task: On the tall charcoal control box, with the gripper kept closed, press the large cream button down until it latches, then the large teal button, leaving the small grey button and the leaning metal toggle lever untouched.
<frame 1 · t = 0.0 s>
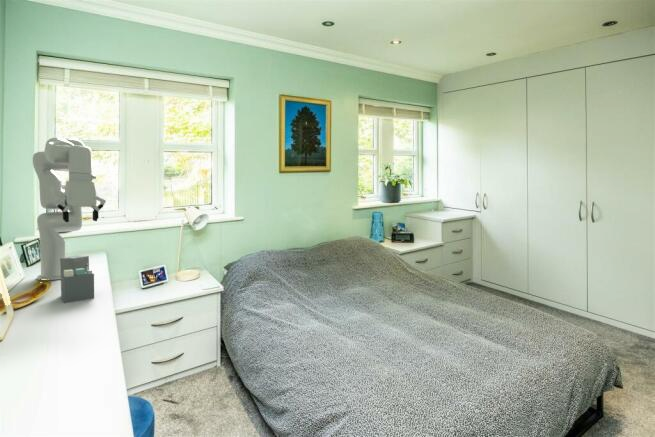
hand: (81, 221, 146), 31 cm above the table, fingers open, 9 cm apart
teal button: (80, 273, 147), point 11 cm above the table, slide at 0.0 cm
skincare box: (75, 294, 154), on the table
cream button: (68, 274, 144), point 11 cm above the table, slide at 0.0 cm
metal lever: (87, 268, 150), point 12 cm above the table, hinge at -18.6°, touching panel
grey button: (89, 272, 148), point 11 cm above the table, slide at 0.0 cm
panel: (78, 299, 147), on the table
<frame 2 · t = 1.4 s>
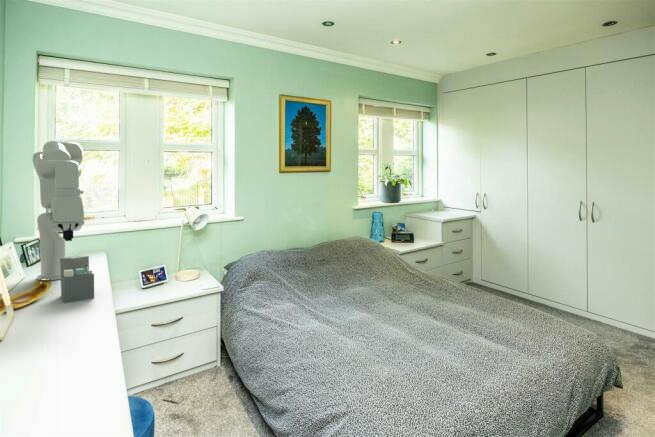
hand: (68, 240, 142), 24 cm above the table, fingers closed
metal lever: (87, 268, 150), point 12 cm above the table, hinge at -14.1°, touching panel
grey button: (89, 272, 148), point 11 cm above the table, slide at 0.0 cm, touching panel
everything else where it was.
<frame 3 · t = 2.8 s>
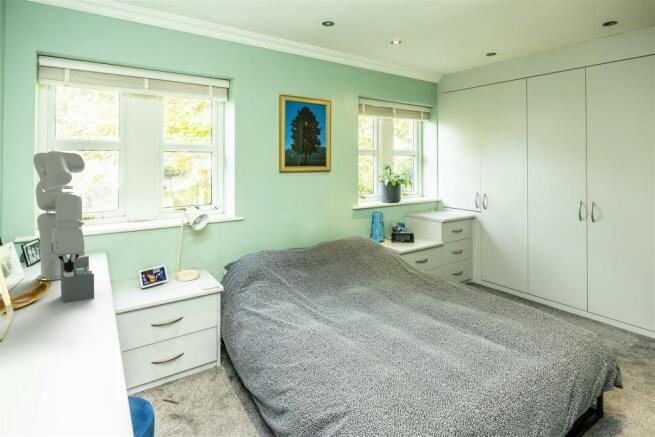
hand: (68, 271, 143), 12 cm above the table, fingers closed
cream button: (68, 275, 144), point 10 cm above the table, slide at 0.6 cm, touching gripper
metal lever: (87, 268, 150), point 12 cm above the table, hinge at -11.7°, touching panel
everything else where it was.
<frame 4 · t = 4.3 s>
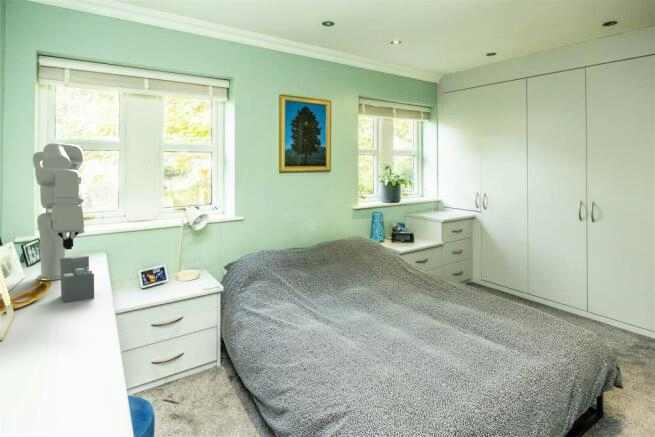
hand: (68, 248, 143), 21 cm above the table, fingers closed
cream button: (68, 278, 144), point 9 cm above the table, slide at 1.5 cm
metal lever: (87, 268, 150), point 12 cm above the table, hinge at -10.4°, touching panel
everything else where it was.
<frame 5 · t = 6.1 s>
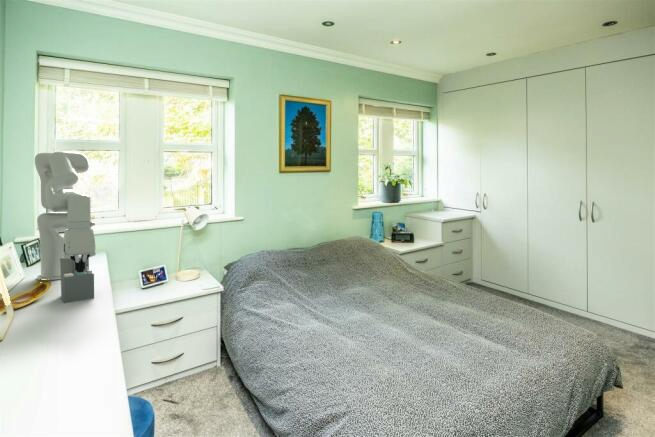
hand: (80, 271, 146), 11 cm above the table, fingers closed
teal button: (80, 275, 147), point 10 cm above the table, slide at 1.0 cm, touching gripper
metal lever: (87, 268, 150), point 12 cm above the table, hinge at -9.7°, touching panel
everything else where it was.
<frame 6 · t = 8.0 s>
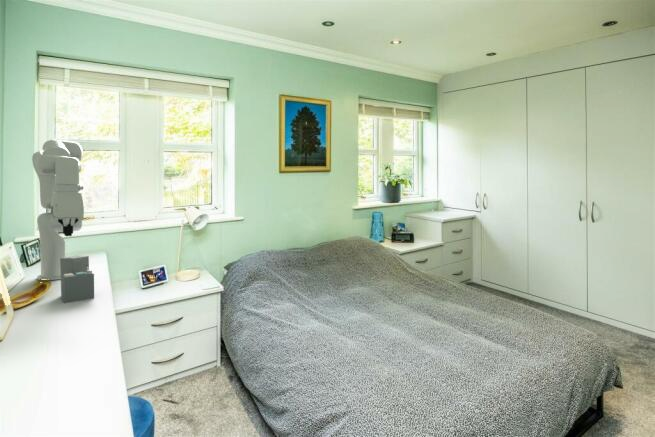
hand: (68, 235, 145), 26 cm above the table, fingers closed
teal button: (80, 276, 147), point 9 cm above the table, slide at 1.5 cm
metal lever: (87, 268, 150), point 12 cm above the table, hinge at -9.4°, touching panel
everything else where it was.
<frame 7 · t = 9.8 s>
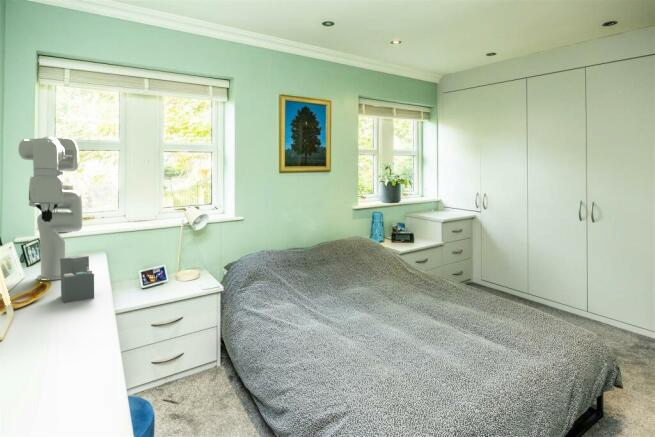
hand: (47, 221, 142), 31 cm above the table, fingers closed
nothing on the table moved.
at the end: cream button slide at 1.5 cm; teal button slide at 1.5 cm; grey button slide at 0.0 cm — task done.
